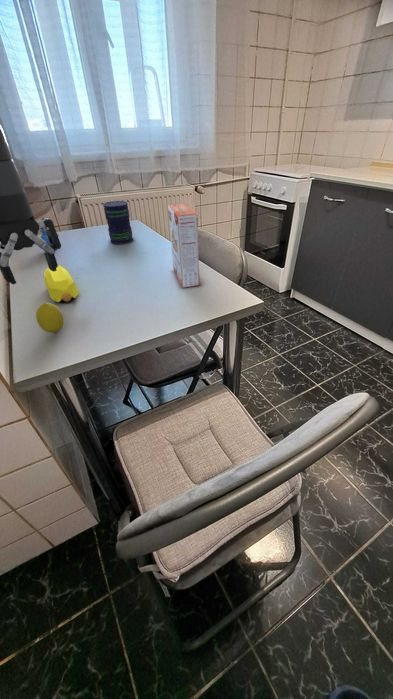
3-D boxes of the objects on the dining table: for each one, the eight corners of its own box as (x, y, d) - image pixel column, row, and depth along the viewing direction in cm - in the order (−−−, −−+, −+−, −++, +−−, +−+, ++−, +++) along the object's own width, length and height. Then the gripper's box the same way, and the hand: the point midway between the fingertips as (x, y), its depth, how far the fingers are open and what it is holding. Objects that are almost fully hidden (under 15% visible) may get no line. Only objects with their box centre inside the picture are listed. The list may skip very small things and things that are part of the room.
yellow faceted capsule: (70, 279, 97) (45, 284, 94) (64, 259, 92) (37, 264, 89) (83, 301, 84) (54, 308, 81) (76, 279, 80) (46, 285, 77)
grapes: (64, 254, 116) (54, 222, 109) (46, 257, 114) (35, 224, 107) (62, 246, 125) (53, 215, 118) (45, 248, 123) (35, 217, 116)
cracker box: (172, 271, 100) (167, 204, 87) (189, 269, 101) (186, 202, 88) (180, 288, 89) (176, 214, 76) (200, 286, 90) (198, 212, 77)
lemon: (62, 339, 69) (51, 309, 64) (39, 339, 69) (26, 309, 64) (70, 326, 73) (61, 297, 68) (49, 326, 73) (37, 297, 69)
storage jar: (137, 238, 131) (132, 201, 122) (125, 245, 124) (118, 206, 115) (118, 236, 134) (112, 200, 125) (105, 243, 127) (97, 205, 118)
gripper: (32, 183, 59) (57, 262, 68) (-51, 194, 50) (-9, 282, 60) (49, 187, 54) (73, 270, 64) (-38, 199, 46) (5, 293, 56)
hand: (33, 276), depth 62 cm, fingers open, 8 cm apart
